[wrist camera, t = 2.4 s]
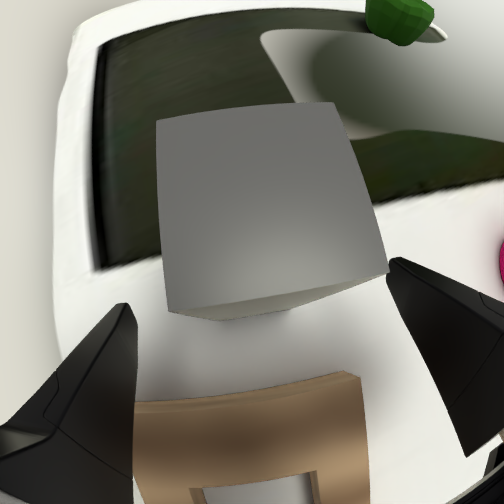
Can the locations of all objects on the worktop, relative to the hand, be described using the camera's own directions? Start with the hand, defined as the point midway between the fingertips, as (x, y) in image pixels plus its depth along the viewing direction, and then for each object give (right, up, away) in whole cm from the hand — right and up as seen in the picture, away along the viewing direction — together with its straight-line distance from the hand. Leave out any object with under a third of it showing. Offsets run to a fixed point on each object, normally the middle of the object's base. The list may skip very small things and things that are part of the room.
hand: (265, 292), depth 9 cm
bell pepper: (+17, +30, +18) cm, 39 cm away
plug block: (-1, -1, +9) cm, 9 cm away
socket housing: (0, -16, +5) cm, 17 cm away
